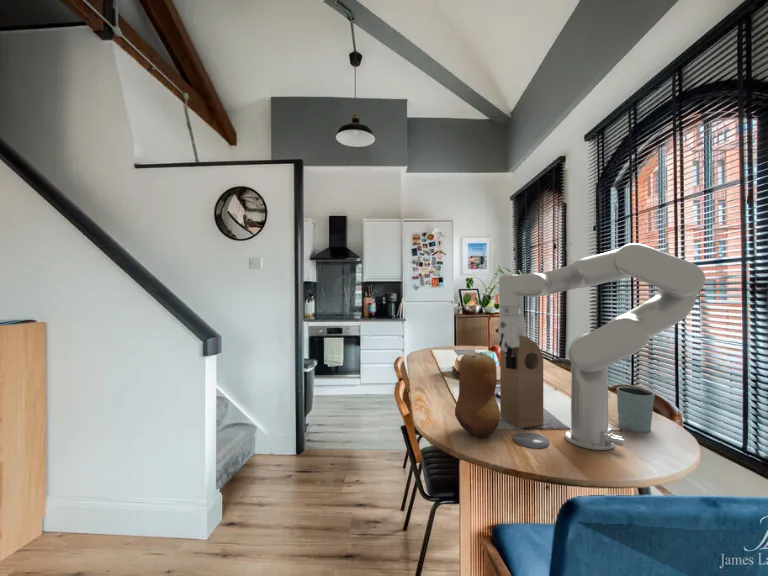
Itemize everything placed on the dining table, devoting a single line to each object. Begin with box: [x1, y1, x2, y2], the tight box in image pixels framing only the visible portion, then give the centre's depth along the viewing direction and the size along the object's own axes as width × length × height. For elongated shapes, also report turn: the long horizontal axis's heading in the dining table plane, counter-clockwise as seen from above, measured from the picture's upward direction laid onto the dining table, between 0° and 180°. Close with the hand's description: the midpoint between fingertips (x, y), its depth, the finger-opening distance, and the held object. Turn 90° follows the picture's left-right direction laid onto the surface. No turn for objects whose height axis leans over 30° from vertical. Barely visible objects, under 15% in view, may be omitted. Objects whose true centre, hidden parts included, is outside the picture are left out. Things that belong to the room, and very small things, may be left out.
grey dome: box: [512, 431, 551, 449], centre depth 107 cm, size 10×10×1 cm
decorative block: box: [499, 335, 544, 429], centre depth 122 cm, size 10×10×30 cm
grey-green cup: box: [616, 386, 656, 433], centre depth 117 cm, size 10×10×12 cm
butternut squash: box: [454, 352, 501, 438], centre depth 112 cm, size 14×13×25 cm
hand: (511, 368), depth 118 cm, fingers closed
